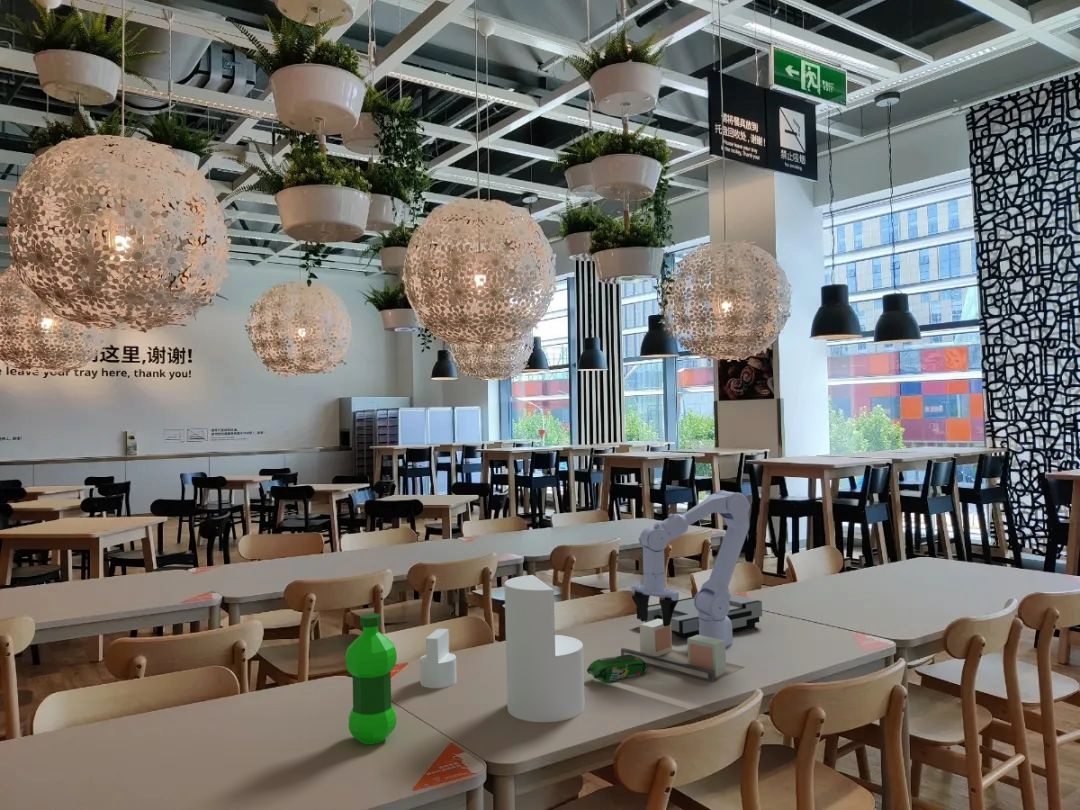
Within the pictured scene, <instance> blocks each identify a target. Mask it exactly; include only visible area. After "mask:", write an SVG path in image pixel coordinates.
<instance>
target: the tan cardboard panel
mask: <svg viewBox="0 0 1080 810" xmlns="http://www.w3.org/2000/svg"><path fill="white" fill-rule="evenodd" d="M623 655H633V656H636V657H639V658H641V659H642V660H643V661H644V662H645V664H646V666H647V667H652V668H657V669H660V670H663V671H668V672H672V673H675V674H678V675H679V674H680V675H683V676H687V677H689V678H693V679H699V680H702V681H706V682H710V683H713V682H715V681H718V680H720V679H722V678H724V677H727V676H729V675H731V674H734V673H736V672H737V671H740V670H742V669H744V668H745V666H742V665H738V664H735V663H729V662H726V673H725V674H723V675H721V676H719V677H716V678H715V677H714V670H710V669H706V668H702V667H698V666H694V665H690V664H688V652H683V651H679V650H675V649H672V651H671V652H668V653H665V654H663V655H660V656H654V655H650V654H646V653H642V652H640V651H637V650H634V649H630V648H625V647H622V648H620V656H623Z"/></svg>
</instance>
